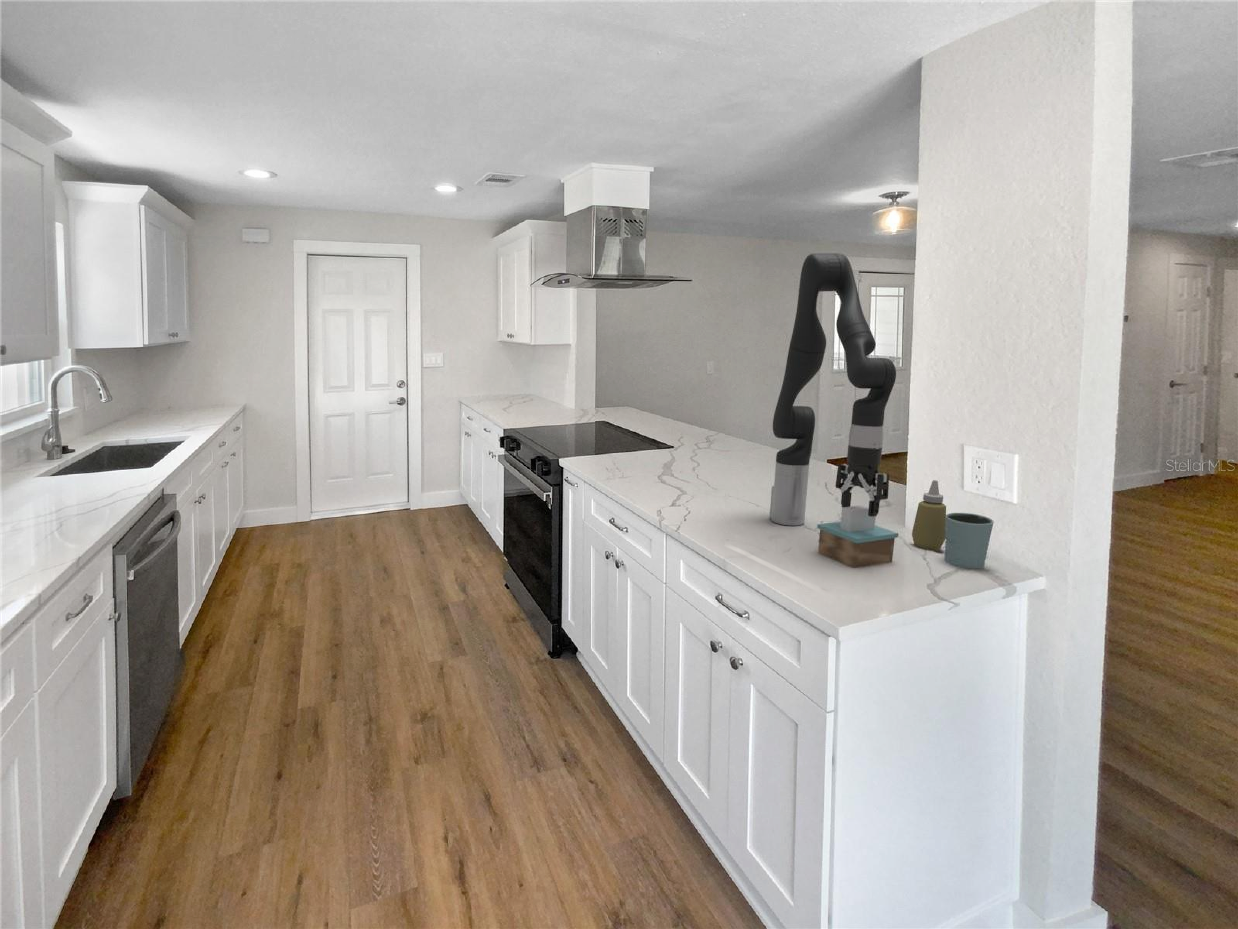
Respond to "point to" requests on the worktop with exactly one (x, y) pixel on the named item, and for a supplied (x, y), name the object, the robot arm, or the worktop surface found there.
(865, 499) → the worktop surface
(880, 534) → the lid
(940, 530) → the squeeze bottle
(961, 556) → the grey-blue cup
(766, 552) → the worktop surface
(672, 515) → the worktop surface
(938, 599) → the worktop surface
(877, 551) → the walnut box
